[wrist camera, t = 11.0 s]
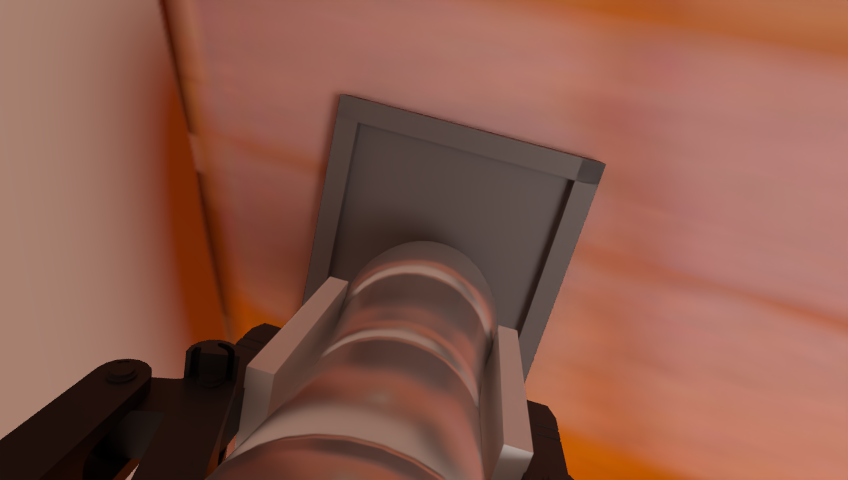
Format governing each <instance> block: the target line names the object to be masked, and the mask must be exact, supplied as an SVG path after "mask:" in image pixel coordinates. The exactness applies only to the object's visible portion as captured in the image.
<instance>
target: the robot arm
mask: <svg viewBox="0 0 848 480" xmlns="http://www.w3.org/2000/svg"><path fill="white" fill-rule="evenodd" d="M347 286H348V281H344V280H341V279H337V278H334V277H329V278H328V279H327V281H326V282H325V283H324V284H323V285H322V286H321V287H320V288H319V289H318V290H317V291H316V292H315V293H314V294H313V296H312V297H311V298H310V299H309V300H308V301H307V302H306V303H305V304H304V305H303V306H302V307H301V308H300V309H299V310H298V312H297V313H296V314H295V315H294V316H293V317H292V318H291V319H290V320H289V321H288V322H287V323H286V324H285V325H284V327H283V328H279V327H276V326H273V325H269V324H266V323H264V324H262V325H259V326H257V327H254V328H252V329H251V330H250V331H248V332H247V333H246V334H245V335H244V336H243V338H241V339H240V340H239V341H238V342H237V343H236V345H234V344H232V343H230V342H227V341H222V340H206V341H201V342H198V343H196V344H194V345H192V346H191V347H190V348H189V349H188V350H187V351H186V361H185V370H184V378H182V379H169V378H168V379H167V378H153V377H151V375H152V369H151V367H150V366H149V365H148V364H147V363H145V362H142V361H140V360H134V359H121V360H114V361H111V362H108V363H105V364H103V365H101V366H99V367H97V368H96V369H95V370H93V371H92V372H91V373H89V374H88V375H87V376H85V377H84V378H83V379H81V380H80V381H79V382H77V383H76V384H75V385H73V386H72V387H71V388H69V389H68V390H67V391H65V392H64V393H63V394H61V395H60V396H59V397H57V398H56V399H54V400H53V401H52V402H51V403H49V404H48V405H46V406H45V407H44V408H42V409H41V410H40V411H38V412H37V413H36V414H34V415H33V416H32V417H30V418H29V419H28V420H27V421H25V422H24V423H22V424H21V425H20V426H18V427H17V428H16V429H14V430H13V431H12V432H10V433H9V434H8V435H6V436H5V437H4V438H2V439H1V440H0V480H125V479H126V478H127V477H128V476H129V475H130V473H131V472H132V471H133V470H134V469H135V468H136V467H137V465H138V464H139V465H138V467H137V469H136V471H135V473H134V475H133V477H132V479H131V480H205V479H206V478H207V477H208V476H209V475H210V474H211V473H213V472H214V470H215V469H216V468H217V467H218V466H219V465H220V464H221V463H222V462H223V461H224V460H225V458H226V452H227V445H228V444H229V443H230V441H231V440H232V439H233V437H234V436H235V435H236V434H237V435H236V442H235V449H236V448H237V447H238V446H239V445H240V444H241V443H242V442H243V441H244V440H245V439H246V438H248V437H249V436H250V435H251V434H252V433H253V432H254V431H255V430H256V429H257V428H258V427H259V426H260V425H261V424H262V423H263V422H264V421H265V420H266V419H267V418H268V417H269V416H270V415H271V414H272V413H273V412H274V411H275V410H276V409H277V408H278V407H279V406H280V405H281V404H282V403H283V402H284V401H285V400H286V398H287V397H288V396H289V395H290V393H291V392H292V391H293V390H294V388H295V387H296V386H297V384H298V383H299V382H300V381H301V379H302V378H303V377H304V376H305V374H306V373H307V372H308V371H309V369H310V368H312V366H313V365H314V363H315V362H316V361H317V359H318V358H319V357H320V355H321V354H322V353H323V351H324V349H325V347H326V345H327V343H328V341H329V339H330V337H331V335H332V333H333V331H334V329H335V327H336V325H337V323H338V321H339V317H340V313H341V309H342V306H343V304H344V300H345V295H346V291H347ZM479 403H480V425H481V435H482V452H483V468H484V473H485V479H486V480H574V479H573V478H572V477H571V476H570V475H568V472H567V467H566V462H565V458H564V453H563V449H562V444H561V442H560V435H559V432H558V426H557V422H556V418H555V416H554V415H553V414H552V412H551V411H550V409H549V408H548V406H545V405H542V404H539V403H535V402H532V401H529V400H526V393H525V385H524V378H523V370H522V363H521V355H520V348H519V340H518V333H517V330H514V329H510V328H507V327H503V326H500V325H498V327H497V330H496V333H495V336H494V339H493V343H492V347H491V351H490V354H489V357H488V360H487V363H486V365H485V368H484V375H483V381H482V388H481V395H480V401H479Z"/></svg>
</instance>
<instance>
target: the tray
mask: <svg viewBox="0 0 848 480" xmlns="http://www.w3.org/2000/svg"><path fill="white" fill-rule="evenodd" d="M605 165H606V164H604V163H602V162H600V161H596V160H593V159H589V158H585V157H581V156H577V155H574V154H570V153H566V152H562V151H559V150H555V149H551V148H547V147H543V146H540V145H536V144H532V143H528V142H525V141H521V140H517V139H513V138H509V137H506V136H502V135H498V134H494V133H491V132H487V131H483V130H479V129H475V128H472V127H468V126H464V125H460V124H456V123H453V122H449V121H445V120H441V119H438V118H434V117H430V116H426V115H422V114H419V113H415V112H411V111H407V110H404V109H400V108H396V107H392V106H388V105H385V104H381V103H377V102H373V101H369V100H366V99H362V98H358V97H354V96H351V95H344V94H341V95H340V100H339V106H338V111H337V117H336V122H335V128H334V133H333V139H332V144H331V150H330V155H329V161H328V166H327V172H326V177H325V183H324V188H323V193H322V199H321V204H320V210H319V215H318V221H317V226H316V232H315V237H314V243H313V248H312V254H311V259H310V265H309V270H308V276H307V281H306V287H305V292H304V298H303V303H302V306H303V305H304V304H305V303H306V302H307V301H308V300H309V299H310V298H311V297H312V296H313V294H314V293H315V292H316V291H317V290H318V289H319V288H320V287H321V286H322V285H323V284H324V283H325V282H326V281H327V279H328V278H329V277H334V278H337V279H341V280H344V281H348V286H347V291H346V295H345V299H346V296H347V294H348V291H349V289H350V287H351V284H352V282H353V281H354V279H355V278H356V276H357V275H358V273H359V272H360V270H361V269H362V268H363V267H364V266H365V265H366V264H368V263H369V262H370V261H371V260H372V259H374V258H375V257H377V256H378V255H380V254H382V253H383V252H385V251H387V250H389V249H391V248H393V247H395V246H398V245H401V244H403V243H408V242H414V241H433V242H437V243H442V244H445V245H448V246H450V247H452V248H454V249H457V250H458V251H460V252H461V253H463V254H464V255H465V256H467V257H468V258H469V259H470V260H471V261H472V262H473V263H474V264H475V265H476V266H477V267H478V269H479V270H480V272H481V273H482V275H483V277H484V278H485V280H486V282H487V284H488V286H489V288H490V290H491V293H492V296H493V299H494V301H495V308H496V315H497V319H496V330H497V327H498V325H500V326H503V327H507V328H510V329H514V330H517V333H518V340H519V348H520V355H521V363H522V370H523V378H524V383H525V380H526V378H527V375H528V372H529V370H530V367H531V364H532V362H533V359H534V356H535V354H536V351H537V348H538V345H539V343H540V340H541V337H542V335H543V332H544V329H545V327H546V324H547V321H548V319H549V316H550V313H551V311H552V308H553V305H554V303H555V300H556V297H557V294H558V292H559V289H560V286H561V284H562V281H563V278H564V276H565V273H566V270H567V268H568V265H569V262H570V260H571V257H572V254H573V251H574V249H575V246H576V243H577V241H578V238H579V235H580V233H581V230H582V227H583V225H584V222H585V219H586V217H587V214H588V211H589V208H590V206H591V203H592V200H593V198H594V195H595V192H596V190H597V187H598V184H599V182H600V179H601V176H602V174H603V171H604V168H605ZM344 301H345V300H344ZM495 333H496V331H495ZM494 336H495V335H494Z"/></svg>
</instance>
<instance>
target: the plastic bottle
mask: <svg viewBox="0 0 848 480" xmlns="http://www.w3.org/2000/svg"><path fill="white" fill-rule="evenodd" d="M496 319H497V315H496V308H495V301H494V299H493V296H492V293H491V290H490V288H489V286H488V284H487V282H486V280H485V278H484V277H483V275H482V273H481V272H480V270H479V269H478V267H477V266H476V265H475V264H474V263H473V262H472V261H471V260H470V259H469V258H468V257H467V256H465V255H464V254H463V253H461V252H460V251H458V250H457V249H454V248H452V247H450V246H448V245H445V244H442V243H437V242H433V241H414V242H408V243H403V244H401V245H398V246H395V247H393V248H391V249H389V250H387V251H385V252H383V253H382V254H380V255H378V256H377V257H375V258H374V259H372V260H371V261H370V262H369V263H368V264H366V265H365V266H364V267H363V268H362V269H361V270H360V272H359V273H358V275H357V276H356V278H355V279H354V281H353V282H352V284H351V287H350V289H349V291H348V294H347V296H346V299H345V301H344V304H343V306H342V309H341V313H340V317H339V321H338V323H337V325H336V327H335V329H334V331H333V333H332V335H331V337H330V339H329V341H328V343H327V345H326V347H325V349H324V351H323V353H322V354H321V355H320V357H319V358H318V359H317V361H316V362H315V363H314V365H313V366H312V368H310V369H309V371H308V372H307V373H306V374H305V376H304V377H303V378H302V379H301V381H300V382H299V383H298V384H297V386H296V387H295V388H294V390H293V391H292V392H291V393H290V395H289V396H288V397H287V398H286V400H285V401H284V402H283V403H282V404H281V405H280V406H279V407H278V408H277V409H276V410H275V411H274V412H273V413H272V414H271V415H270V416H269V417H268V418H267V419H266V420H265V421H264V422H263V423H262V424H261V425H260V426H259V427H258V428H257V429H256V430H255V431H254V432H253V433H252V434H251V435H250V436H249V437H248V438H246V439H245V440H244V441H243V442H242V443H241V444H240V445H239V446H238V447H237V448H236V449H235V450H234V451H233V452H232V454H230V455H229V456H228V457H227V458H226V459H225V460H224V461H223V462H222V463H221V464H220V465H219V466H218V467H217V468H216V469H215V470H214V472H213V473H211V474H210V475H209V476H208V477H207V478H206V479H205V480H486V479H485V473H484V468H483V452H482V435H481V425H480V403H479V401H480V395H481V388H482V381H483V375H484V368H485V365H486V363H487V360H488V357H489V354H490V351H491V347H492V343H493V339H494V335H495V331H496Z"/></svg>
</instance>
